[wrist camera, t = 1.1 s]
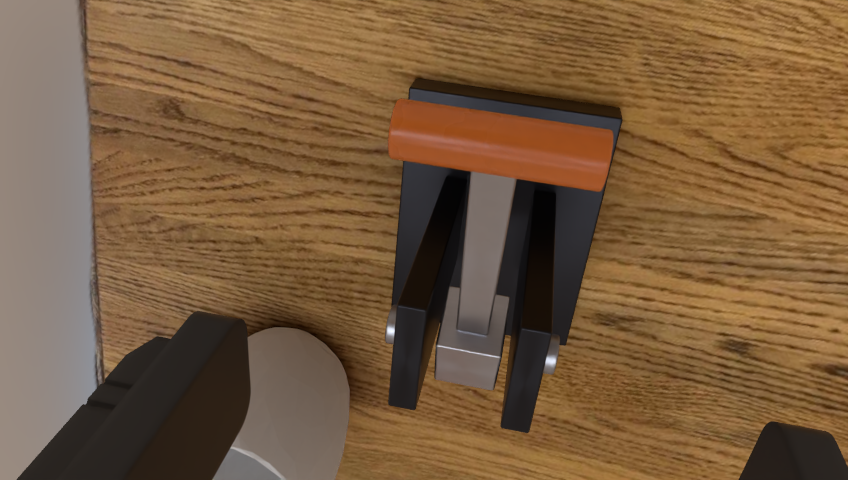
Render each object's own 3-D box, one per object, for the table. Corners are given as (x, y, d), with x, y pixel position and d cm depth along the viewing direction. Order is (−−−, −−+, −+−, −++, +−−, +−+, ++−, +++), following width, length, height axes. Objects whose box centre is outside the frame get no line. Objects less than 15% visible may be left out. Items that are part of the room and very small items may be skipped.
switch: (405, 72, 16) (381, 143, 15) (615, 102, 16) (611, 180, 14) (410, 316, 26) (396, 372, 25) (539, 340, 26) (532, 399, 24)
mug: (283, 279, 37) (197, 407, 28) (399, 383, 39) (351, 530, 30) (162, 385, 43) (61, 517, 34) (269, 470, 45) (198, 614, 36)
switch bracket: (415, 77, 30) (339, 188, 20) (620, 107, 29) (649, 239, 19) (396, 297, 36) (330, 468, 26) (565, 328, 35) (565, 518, 25)
